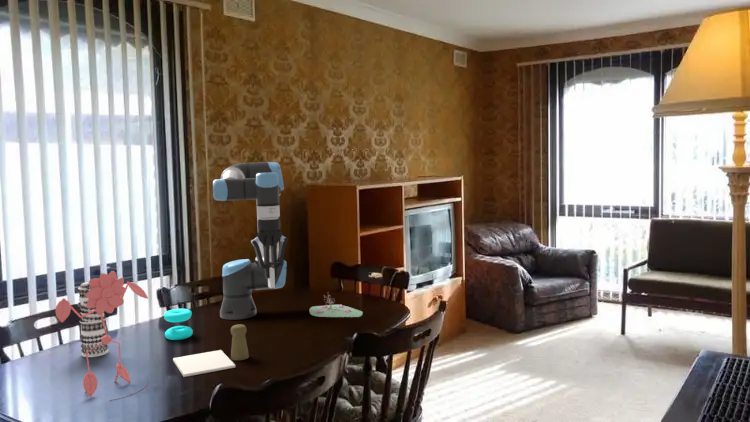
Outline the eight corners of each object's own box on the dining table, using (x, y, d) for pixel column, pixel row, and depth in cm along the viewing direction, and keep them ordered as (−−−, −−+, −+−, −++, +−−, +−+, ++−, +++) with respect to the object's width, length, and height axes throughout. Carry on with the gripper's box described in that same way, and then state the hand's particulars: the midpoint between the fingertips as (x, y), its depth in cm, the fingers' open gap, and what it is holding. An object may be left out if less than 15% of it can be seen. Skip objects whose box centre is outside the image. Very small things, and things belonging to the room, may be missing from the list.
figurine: (54, 400, 171) (47, 277, 168) (138, 373, 192) (133, 262, 188) (83, 414, 162) (76, 284, 159) (167, 384, 183) (163, 268, 179)
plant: (374, 309, 266) (373, 289, 266) (353, 321, 248) (353, 299, 247) (323, 305, 276) (322, 285, 276) (300, 316, 258) (299, 295, 257)
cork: (232, 355, 207) (230, 323, 206) (250, 354, 208) (248, 322, 207) (229, 360, 201) (227, 328, 200) (247, 359, 202) (246, 327, 201)
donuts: (158, 311, 229) (182, 306, 236) (160, 337, 230) (184, 331, 237) (172, 315, 222) (196, 310, 229) (173, 342, 223) (198, 336, 230)
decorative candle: (115, 350, 216) (111, 280, 214) (95, 358, 207) (90, 285, 205) (95, 348, 219) (90, 279, 217) (74, 356, 210) (69, 284, 208)
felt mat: (173, 360, 203) (172, 358, 203) (221, 352, 211) (221, 349, 211) (183, 377, 187) (183, 374, 187) (235, 367, 195) (235, 364, 195)
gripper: (253, 220, 200) (256, 291, 202) (291, 217, 206) (293, 286, 208) (246, 218, 206) (249, 287, 208) (283, 216, 213) (286, 283, 215)
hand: (271, 287), depth 208 cm, fingers closed
